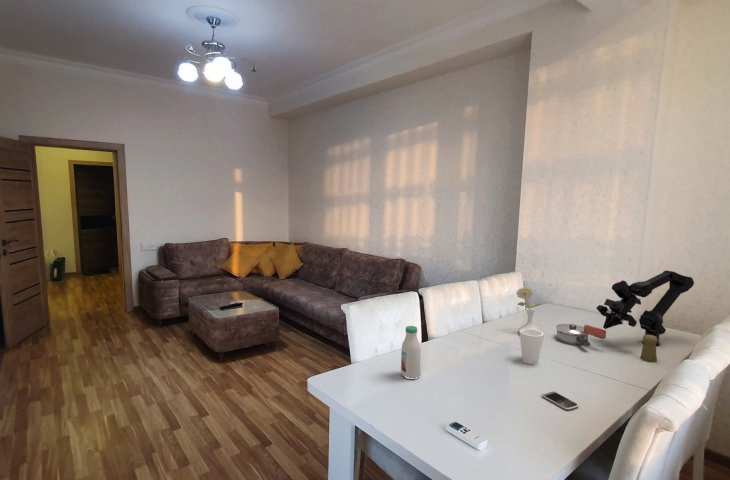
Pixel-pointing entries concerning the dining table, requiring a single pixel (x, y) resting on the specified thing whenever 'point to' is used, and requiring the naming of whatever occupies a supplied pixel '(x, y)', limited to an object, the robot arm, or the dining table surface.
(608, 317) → the robot arm
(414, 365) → the milk bottle
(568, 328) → the lid
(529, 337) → the foam cup
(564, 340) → the pot
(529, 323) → the flower in vase
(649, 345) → the cork
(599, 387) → the dining table surface
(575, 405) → the cell phone
